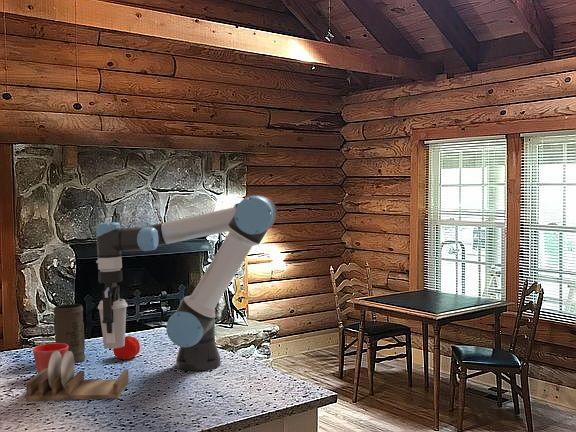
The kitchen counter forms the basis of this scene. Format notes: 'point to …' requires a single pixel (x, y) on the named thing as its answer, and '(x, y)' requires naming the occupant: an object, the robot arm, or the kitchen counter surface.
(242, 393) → the kitchen counter surface
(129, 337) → the tomato
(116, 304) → the coffee cup
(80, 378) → the dish rack
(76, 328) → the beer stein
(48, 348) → the flower pot
